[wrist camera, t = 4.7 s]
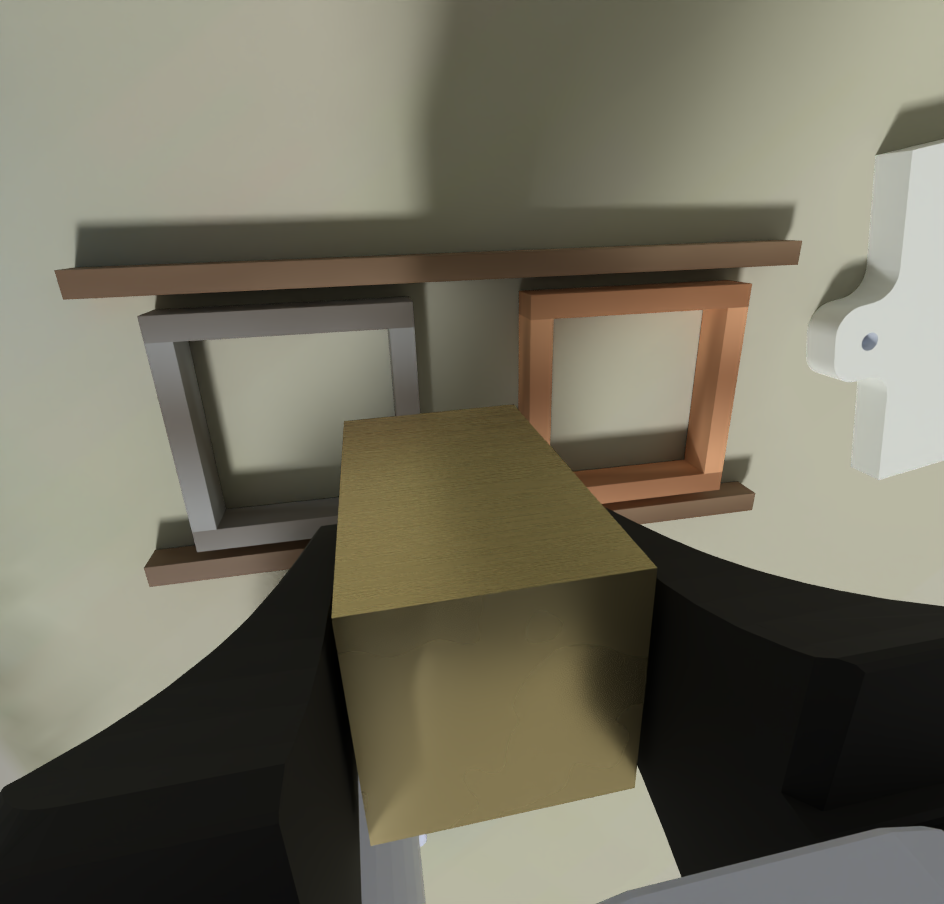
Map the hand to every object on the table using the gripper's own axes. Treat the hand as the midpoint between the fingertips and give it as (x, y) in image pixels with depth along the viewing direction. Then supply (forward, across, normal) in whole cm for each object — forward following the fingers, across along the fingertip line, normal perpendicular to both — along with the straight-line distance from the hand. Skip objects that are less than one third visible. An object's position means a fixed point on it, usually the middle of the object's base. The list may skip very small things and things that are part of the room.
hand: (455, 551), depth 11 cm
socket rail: (+10, -2, 0) cm, 10 cm away
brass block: (+3, 0, 0) cm, 3 cm away
